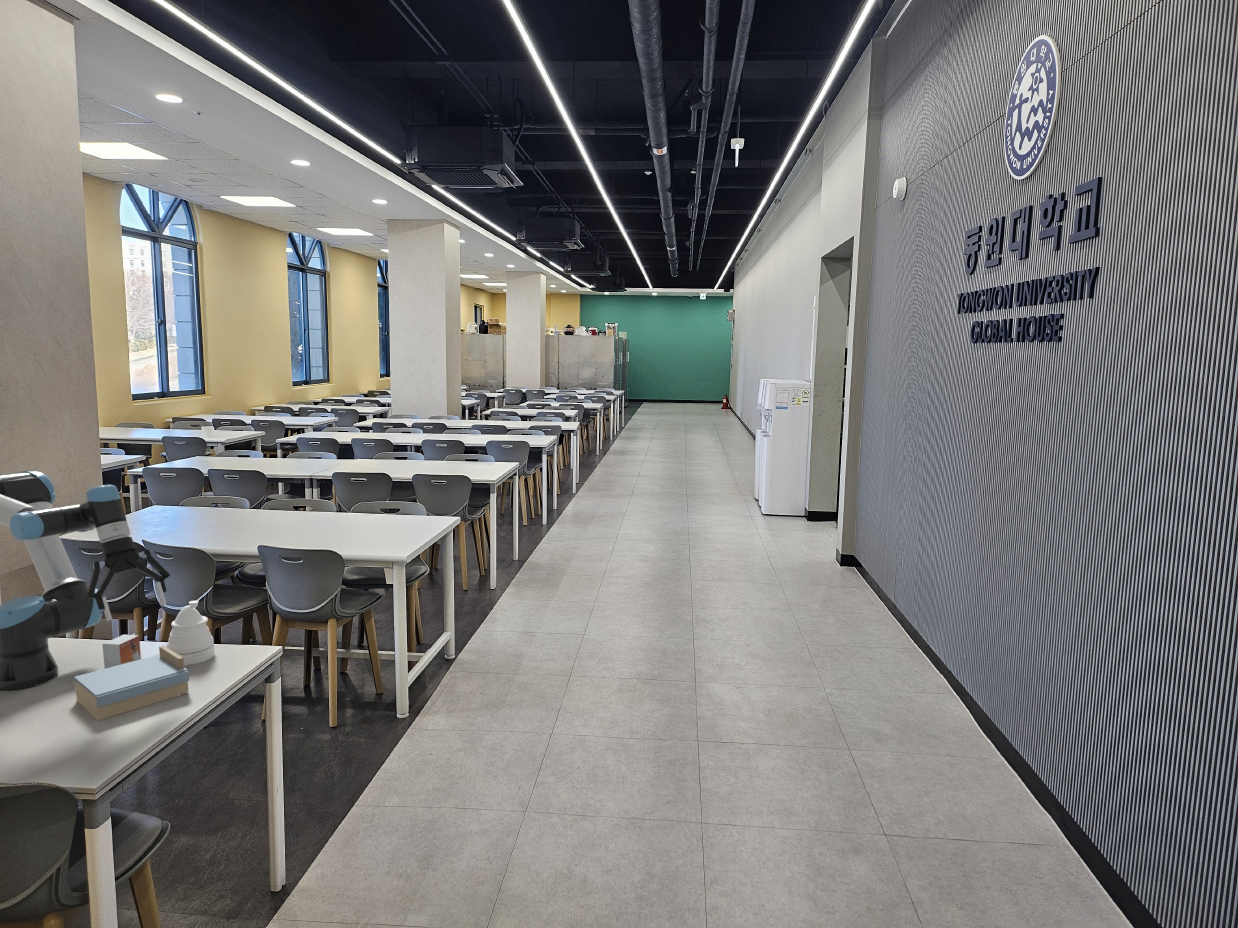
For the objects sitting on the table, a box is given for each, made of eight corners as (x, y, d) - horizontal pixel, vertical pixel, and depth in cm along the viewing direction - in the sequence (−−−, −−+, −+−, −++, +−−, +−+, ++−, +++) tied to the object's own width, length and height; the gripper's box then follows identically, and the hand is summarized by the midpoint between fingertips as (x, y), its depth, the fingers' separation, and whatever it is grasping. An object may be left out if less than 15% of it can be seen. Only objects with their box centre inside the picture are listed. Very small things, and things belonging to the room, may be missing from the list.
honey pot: (222, 649, 248) (219, 595, 246) (200, 665, 235) (196, 608, 233) (182, 649, 248) (178, 595, 246) (158, 665, 236) (154, 608, 233)
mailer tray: (76, 701, 211) (74, 680, 210) (164, 676, 228) (163, 656, 227) (97, 720, 200) (95, 698, 199) (188, 692, 217) (187, 672, 216)
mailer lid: (74, 686, 211) (72, 665, 210) (162, 662, 228) (161, 643, 227) (97, 707, 199) (95, 684, 198) (189, 680, 216) (187, 659, 215)
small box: (121, 679, 225) (118, 644, 224) (104, 678, 226) (101, 643, 225) (142, 668, 233) (139, 634, 232) (126, 667, 234) (123, 633, 232)
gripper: (66, 548, 206) (88, 625, 205) (168, 526, 224) (188, 596, 223) (60, 553, 211) (82, 628, 210) (160, 531, 229) (181, 600, 228)
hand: (137, 612), depth 216 cm, fingers open, 13 cm apart
